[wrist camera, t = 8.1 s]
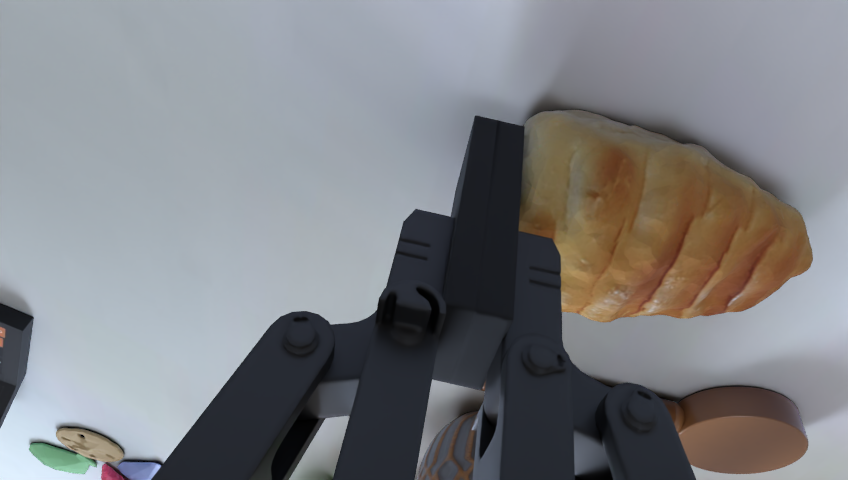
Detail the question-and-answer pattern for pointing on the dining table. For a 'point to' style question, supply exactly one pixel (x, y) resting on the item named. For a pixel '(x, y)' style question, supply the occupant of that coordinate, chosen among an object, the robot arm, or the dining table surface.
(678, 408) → the wooden spoon
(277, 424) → the robot arm
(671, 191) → the pastry
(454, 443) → the vase
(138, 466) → the toy pieces
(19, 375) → the calculator
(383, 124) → the dining table surface
